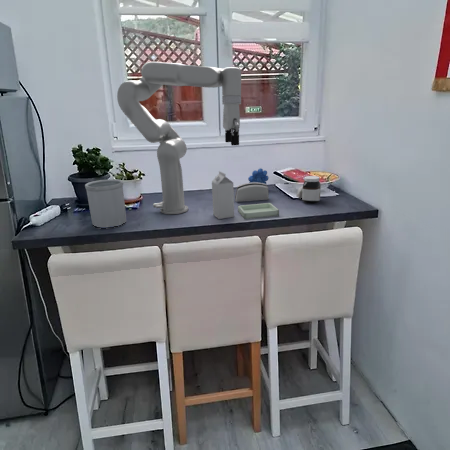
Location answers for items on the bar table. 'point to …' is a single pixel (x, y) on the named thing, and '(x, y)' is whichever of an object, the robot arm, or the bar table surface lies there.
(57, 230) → the bar table surface
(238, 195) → the grey piece
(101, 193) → the utensil holder
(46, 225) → the bar table surface
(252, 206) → the tray
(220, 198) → the milk carton
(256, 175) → the grapes
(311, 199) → the spread jar
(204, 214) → the bar table surface
